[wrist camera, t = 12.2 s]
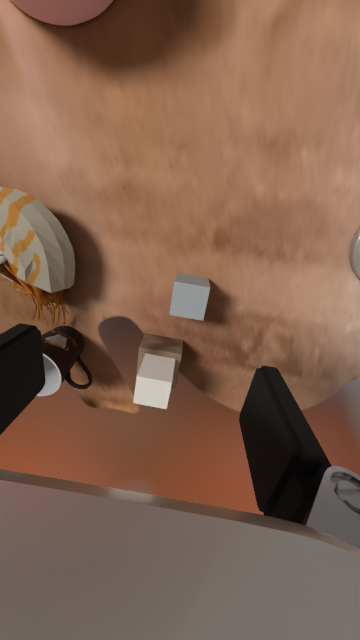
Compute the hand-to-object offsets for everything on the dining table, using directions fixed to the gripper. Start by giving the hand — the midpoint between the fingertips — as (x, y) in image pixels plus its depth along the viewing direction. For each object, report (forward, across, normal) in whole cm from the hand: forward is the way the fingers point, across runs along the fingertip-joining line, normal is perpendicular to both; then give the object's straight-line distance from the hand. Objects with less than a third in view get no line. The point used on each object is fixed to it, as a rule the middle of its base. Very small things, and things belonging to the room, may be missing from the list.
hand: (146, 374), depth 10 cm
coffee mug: (+28, +18, +19) cm, 39 cm away
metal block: (+28, +1, +17) cm, 33 cm away
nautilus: (+29, +22, +4) cm, 36 cm away
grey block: (+28, -2, +4) cm, 29 cm away
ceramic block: (+24, +1, +17) cm, 29 cm away
